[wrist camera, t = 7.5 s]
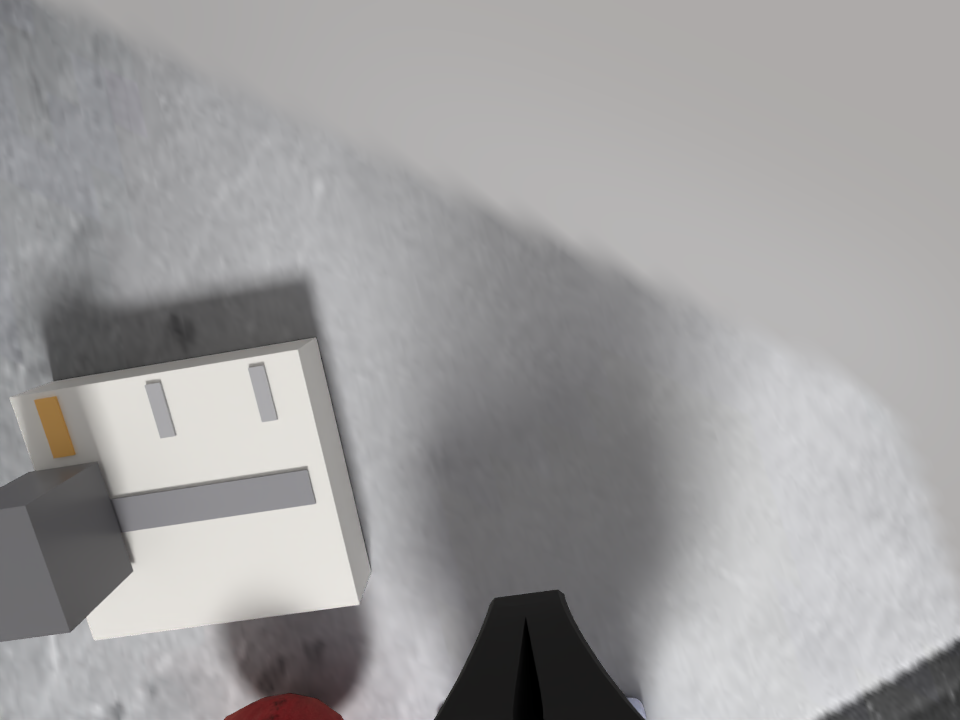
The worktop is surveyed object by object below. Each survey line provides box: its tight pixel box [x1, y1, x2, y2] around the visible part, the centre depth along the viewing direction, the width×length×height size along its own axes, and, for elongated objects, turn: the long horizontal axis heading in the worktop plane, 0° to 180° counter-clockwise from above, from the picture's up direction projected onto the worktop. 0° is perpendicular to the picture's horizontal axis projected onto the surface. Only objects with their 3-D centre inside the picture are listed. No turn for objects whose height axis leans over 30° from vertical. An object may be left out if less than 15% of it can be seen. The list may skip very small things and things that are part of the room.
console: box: [10, 337, 371, 640], centre depth 22 cm, size 9×10×2 cm
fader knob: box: [0, 461, 133, 642], centre depth 19 cm, size 4×2×3 cm, turn 10°
